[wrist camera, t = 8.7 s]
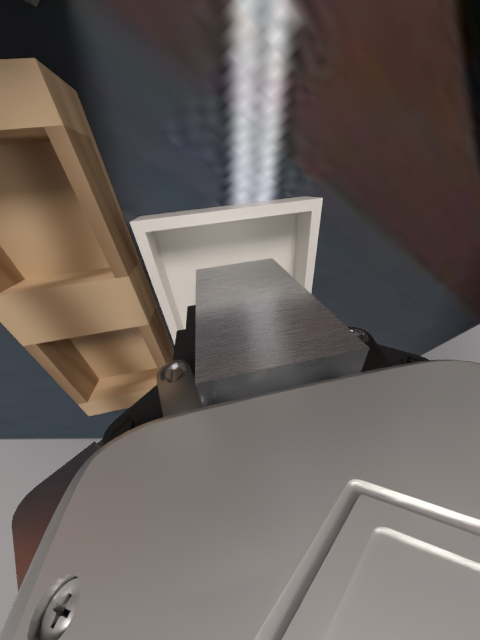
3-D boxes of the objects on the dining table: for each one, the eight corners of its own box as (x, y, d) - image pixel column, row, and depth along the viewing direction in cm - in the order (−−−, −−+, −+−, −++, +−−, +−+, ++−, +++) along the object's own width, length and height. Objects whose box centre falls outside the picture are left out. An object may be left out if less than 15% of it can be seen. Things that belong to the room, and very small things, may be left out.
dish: (304, 196, 14) (322, 197, 12) (294, 325, 20) (305, 340, 18) (140, 216, 13) (129, 221, 11) (183, 345, 19) (181, 364, 17)
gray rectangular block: (272, 258, 13) (369, 347, 6) (272, 320, 16) (337, 434, 9) (196, 269, 13) (194, 383, 5) (209, 331, 15) (222, 463, 8)
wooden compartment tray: (76, 91, 10) (34, 57, 7) (182, 372, 21) (180, 397, 18) (-115, 103, 9) (-236, 70, 6) (102, 387, 20) (88, 416, 18)
